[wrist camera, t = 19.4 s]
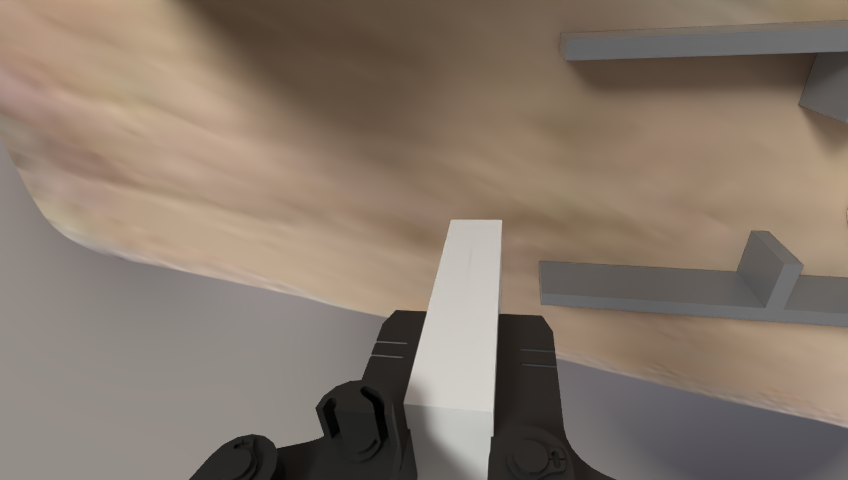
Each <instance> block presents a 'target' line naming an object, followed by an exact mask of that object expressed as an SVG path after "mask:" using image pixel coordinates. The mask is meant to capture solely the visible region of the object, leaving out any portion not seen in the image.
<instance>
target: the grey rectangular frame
mask: <svg viewBox="0 0 848 480" xmlns="http://www.w3.org/2000/svg"><path fill="white" fill-rule="evenodd" d="M559 52H560V53H561V55H562V56H563V58H564V59H565V61H575V60H605V59H634V58H664V57H694V56H724V55H753V54H783V53H813V52H818V53H817V56H816V58H815V61H814V64H813V66H812V69H811V72H810V75H809V77H808V80H807V83H806V85H805V88H804V91H803V93H802V96H801V99H800V102H799V104H798V105H800V106H803V107H805V108H808V109H811V110H813V111H816V112H818V113H821V114H823V115H826V116H828V117H831V118H833V119H836V120H838V121H841V122H843V123H848V20H838V21H816V22H794V23H772V24H750V25H729V26H707V27H685V28H663V29H641V30H619V31H597V32H575V33H561V37H560V48H559ZM803 266H804V265H803V264H802V263H801V262H800V261H799V260H798V259H797V258H796V257H795V256H794V255H793V254H792V253H791V252H790V251H789V250H787V249H786V248H785V247H784V246H783V245H782V244H781V243H780V242H779V241H778V240H777V239H776V238H775V237H774V236H773V235H772V234H771V233H770V232H769V231H752V232H751V234H750V237H749V240H748V242H747V245H746V248H745V250H744V253H743V256H742V259H741V261H740V264H739V267H738V269H737V272H733V271H714V270H696V269H678V268H659V267H641V266H622V265H604V264H585V263H567V262H548V261H540V263H539V284H540V298H541V305H554V306H568V307H581V308H595V309H609V310H622V311H636V312H649V313H663V314H677V315H690V316H704V317H718V318H731V319H745V320H759V321H772V322H786V323H800V324H813V325H827V326H841V327H848V278H844V277H825V276H807V275H799V274H800V272H801V270H802V268H803Z"/></svg>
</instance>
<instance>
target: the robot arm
mask: <svg viewBox="0 0 848 480" xmlns="http://www.w3.org/2000/svg"><path fill="white" fill-rule="evenodd" d="M501 298H502V220H451V222H450V226H449V230H448V234H447V237H446V241H445V245H444V249H443V253H442V257H441V261H440V264H439V268H438V272H437V276H436V280H435V284H434V288H433V291H432V295H431V299H430V303H429V307H428V311H427V312H425V311H405V310H396V311H395V312H394V313H393V314H392V315H391V316H390V317H389V318H388V319H387V320H386V321H385V322H384V323H383V325H382V327H381V330H380V333H379V335H378V338H377V343H376V344H375V346H374V348H373V351H372V356H371V357H370V359H369V362H368V364H367V367H366V369H365V372H364V375H363V377H362V380H359V381H349V382H347V383H344V384H341V385H339V386H336V387H335V388H334V389H333V390H331V391H330V392H329V393H327V394H326V395H324V396H323V398H322V399H321V401H320V402H319V404H318V405H317V407H316V411H317V414H318V418H319V421H320V423H321V427H322V430H323V433H324V436H323V437H321V438H319V439H316V440H313V441H310V442H306V443H301V444H296V445H292V446H286V447H282V448H277V449H276V447H275V445H274V443H273V442H272V441H270V440H269V439H268V438H266V437H265V436H260V435H254V434H251V435H246V436H241V437H237V438H235V439H233V440H231V441H229V442H227V443H226V444H224V445H222V446H221V447H220V448H219V449H218V450H217V451H215V452H214V453H213V454H212V455H211V456H210V457H209V458H208V459H207V460H206V461H205V462H204V464H203V465H202V466H201V467H200V468H199V469H198V470H197V471H196V473H195V474H194V475H193V476H192V477H191V478H190V479H189V480H615V479H613V478H611V477H609V476H606V475H604V474H602V473H600V472H598V471H597V470H595V469H593V468H591V467H590V466H589V465H587V464H586V463H585V462H584V461H583V460H581V459H580V457H579V456H578V455H577V454H576V453H575V452H574V450H573V449H572V448H571V446H570V444H569V442H568V440H567V438H566V434H565V431H564V426H563V417H562V408H561V399H560V390H559V382H558V373H557V367H556V366H557V364H556V355H555V346H554V338H553V331H552V330H551V328H550V327H549V325H548V324H547V323H546V321H545V320H544V318H543V317H542V316H535V315H514V314H501Z"/></svg>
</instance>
